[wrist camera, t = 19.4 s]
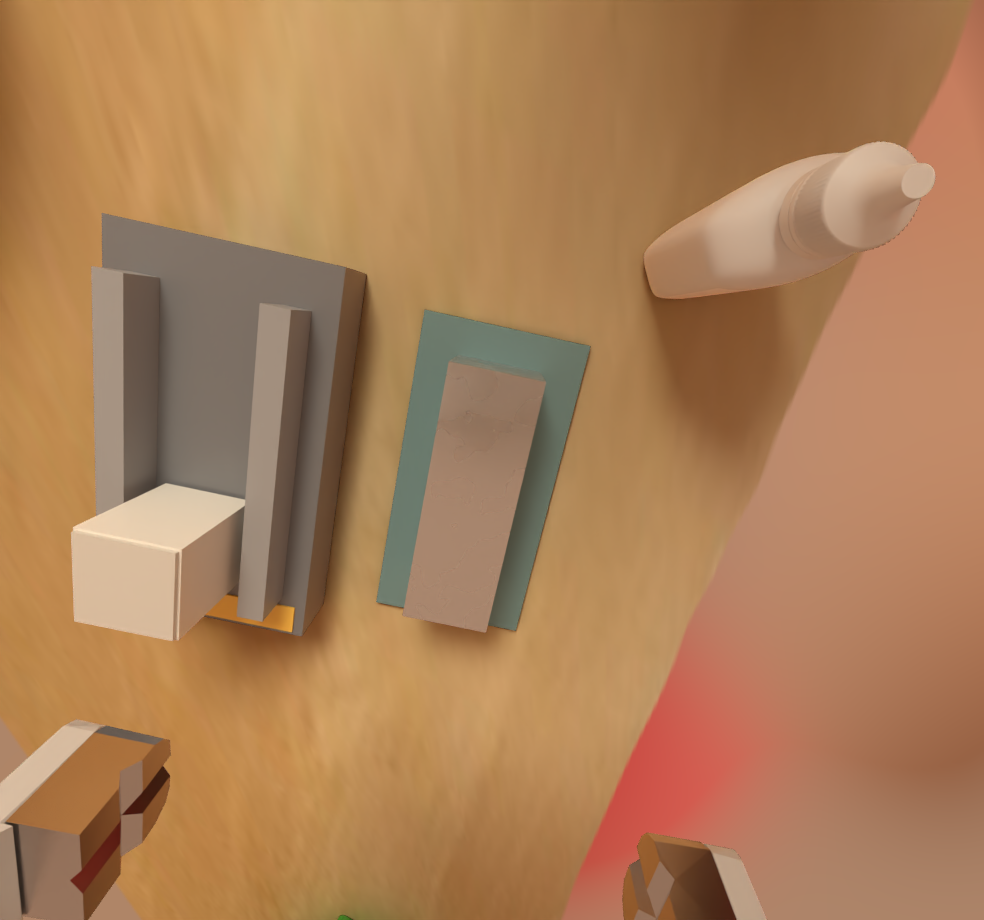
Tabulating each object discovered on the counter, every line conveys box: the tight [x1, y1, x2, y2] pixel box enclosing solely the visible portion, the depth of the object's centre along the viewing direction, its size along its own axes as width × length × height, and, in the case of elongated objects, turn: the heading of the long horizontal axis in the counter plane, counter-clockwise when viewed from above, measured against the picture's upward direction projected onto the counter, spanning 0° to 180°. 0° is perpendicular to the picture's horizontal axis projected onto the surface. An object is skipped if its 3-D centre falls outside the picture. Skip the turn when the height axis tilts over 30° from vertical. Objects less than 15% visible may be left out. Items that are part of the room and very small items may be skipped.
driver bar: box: [403, 355, 546, 633], centre depth 23 cm, size 12×4×4 cm, turn 168°
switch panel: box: [91, 213, 366, 636], centre depth 23 cm, size 18×10×5 cm, turn 168°
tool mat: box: [376, 310, 591, 631], centre depth 25 cm, size 16×8×1 cm, turn 168°
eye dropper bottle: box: [644, 141, 935, 299], centre depth 16 cm, size 4×6×12 cm
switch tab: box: [71, 483, 245, 641], centre depth 21 cm, size 4×4×5 cm
